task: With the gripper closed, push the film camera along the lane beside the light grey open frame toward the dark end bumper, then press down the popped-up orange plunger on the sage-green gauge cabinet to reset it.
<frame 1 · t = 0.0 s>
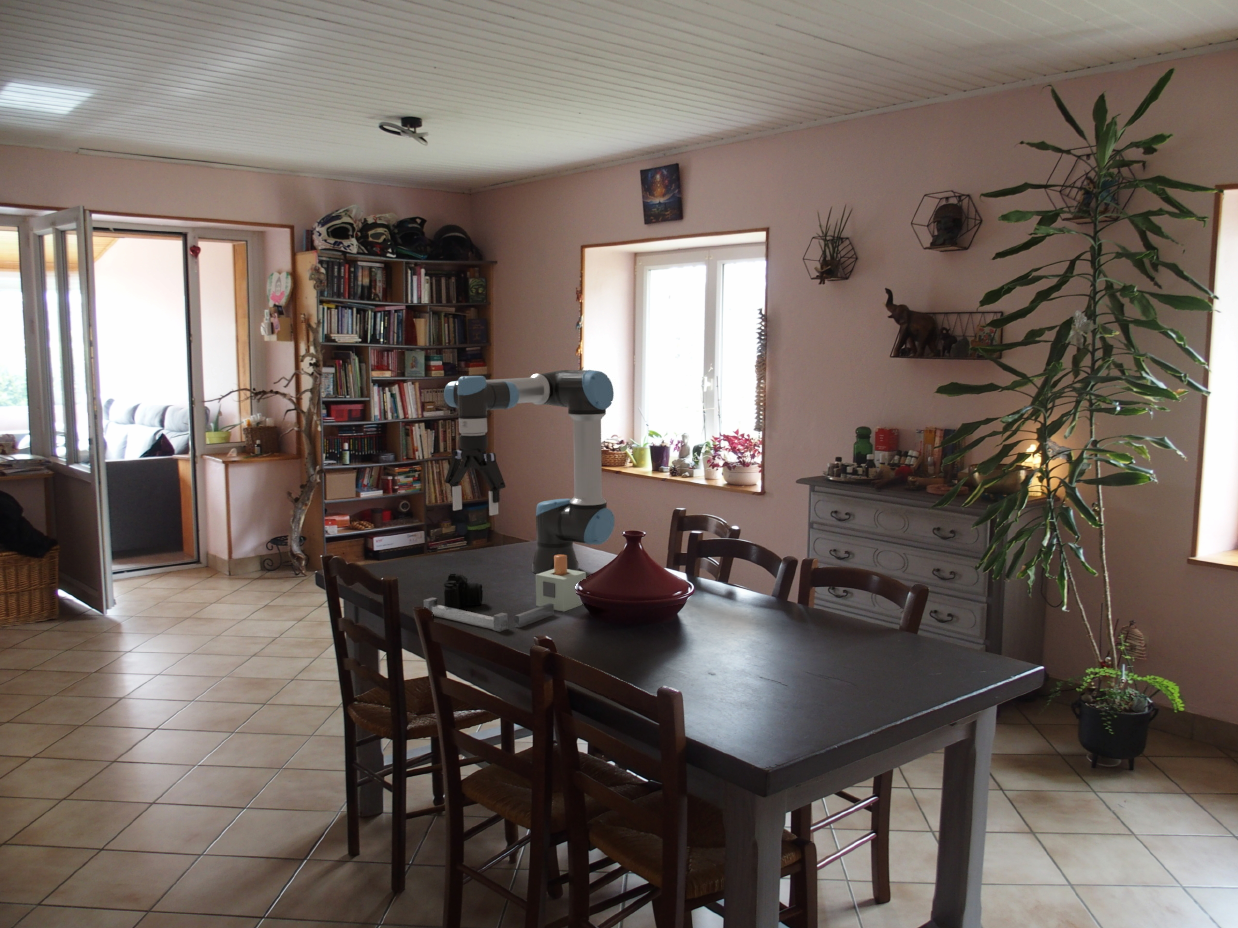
hand: (475, 512, 256), 28 cm above the table, fingers open, 13 cm apart
gauge button: (560, 566, 265), point 11 cm above the table, slide at 0.0 cm
gauge cabinet: (561, 604, 267), on the table
light grey open frame: (464, 621, 251), on the table
film camera: (464, 606, 267), on the table
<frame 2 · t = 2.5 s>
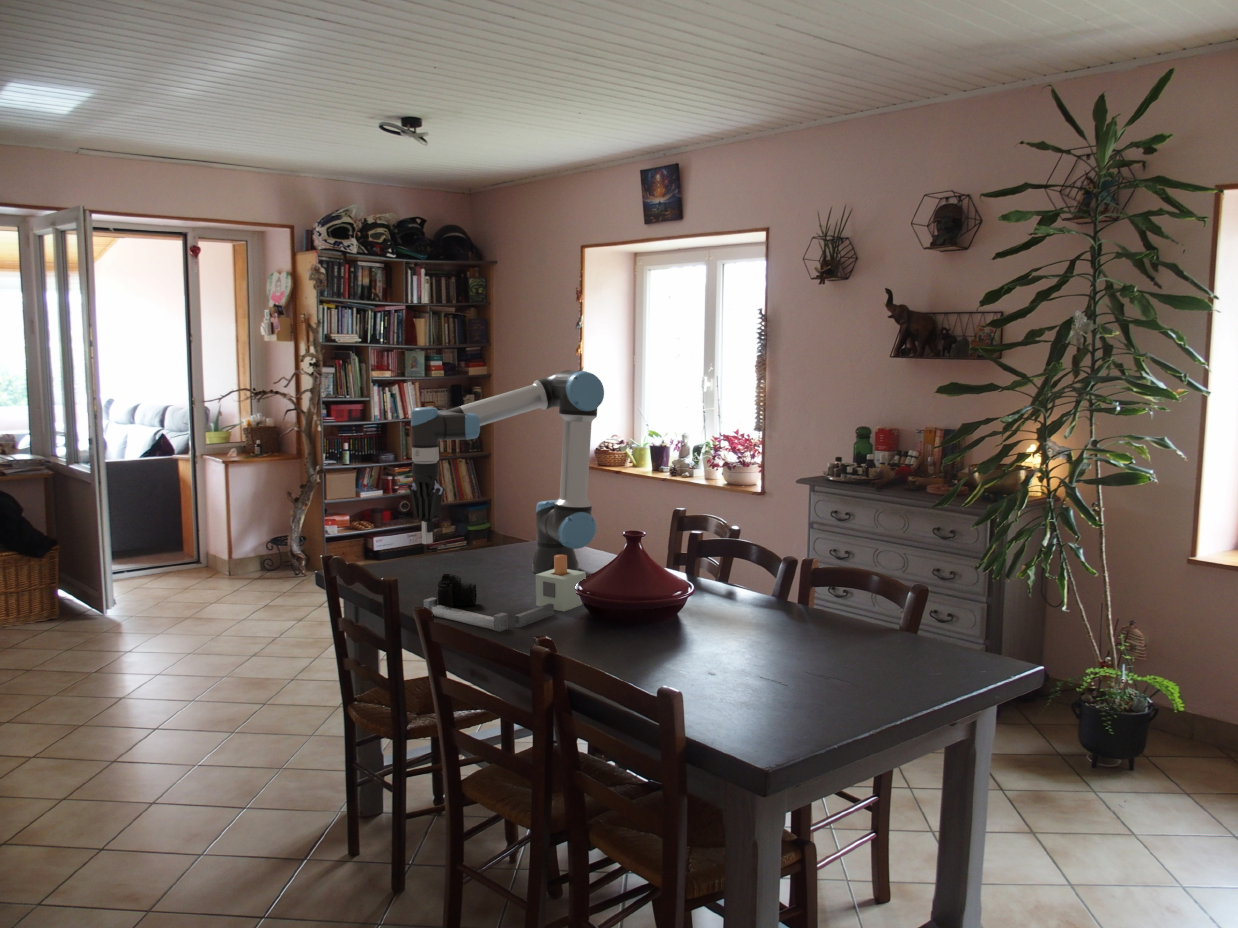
hand: (427, 542, 273), 16 cm above the table, fingers closed
film camera: (457, 606, 267), on the table
everything else where it was.
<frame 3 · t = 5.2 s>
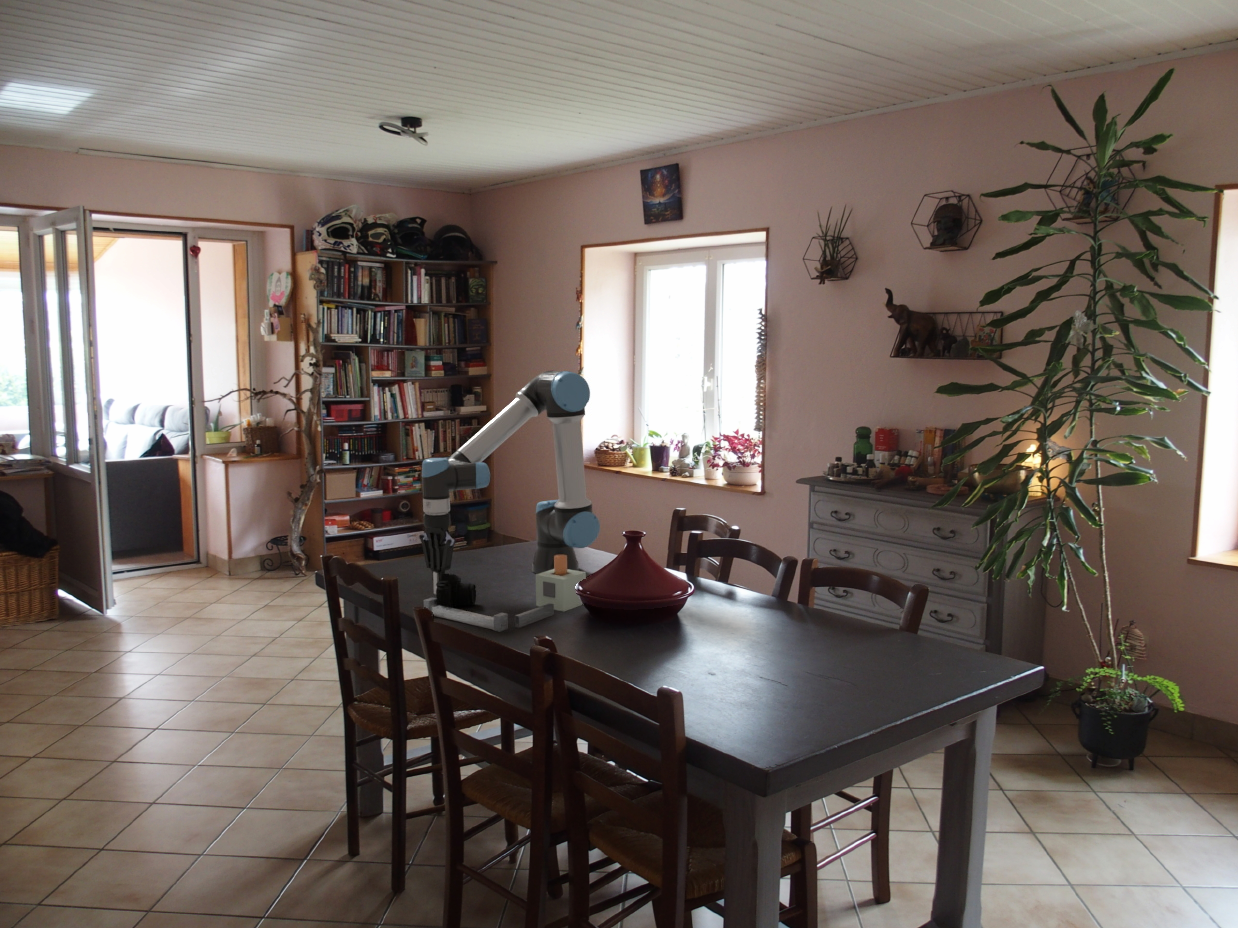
hand: (439, 593, 272), 2 cm above the table, fingers closed
film camera: (457, 606, 266), on the table, touching gripper
everything else where it was.
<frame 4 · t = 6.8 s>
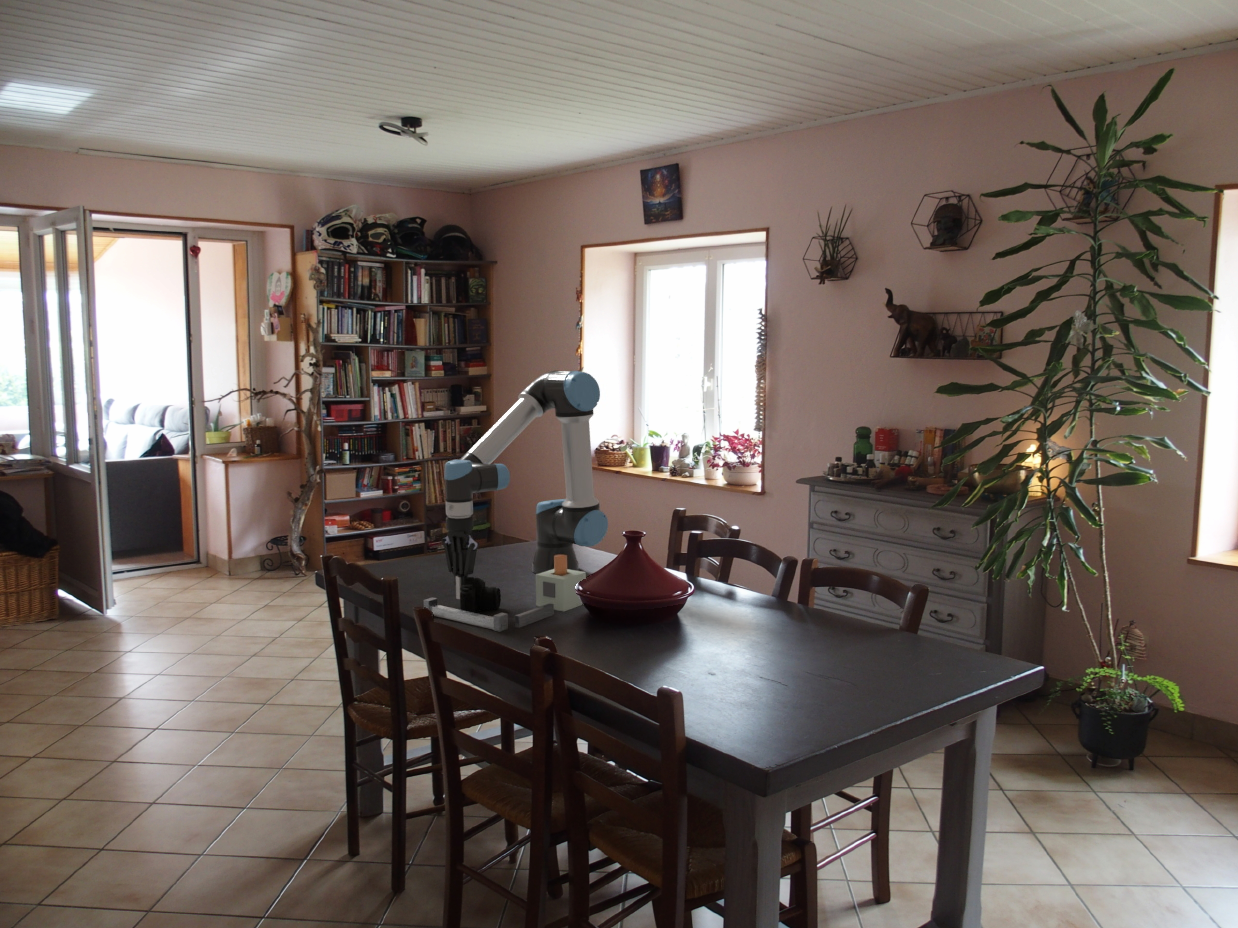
hand: (461, 597, 267), 2 cm above the table, fingers closed
film camera: (481, 610, 262), on the table, touching gripper
everything else where it was.
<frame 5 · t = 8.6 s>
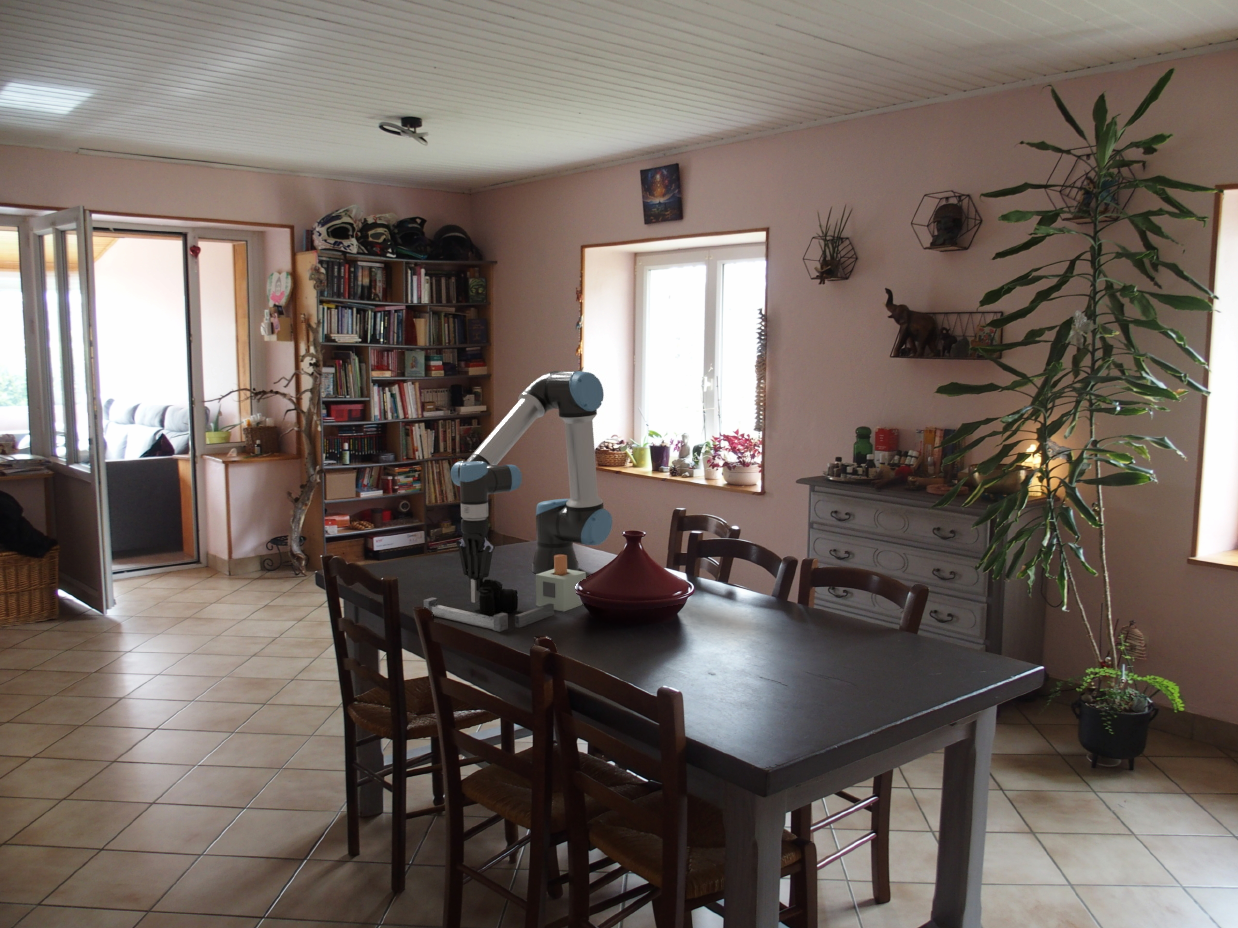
hand: (476, 601, 264), 2 cm above the table, fingers closed
film camera: (499, 613, 259), on the table, touching gripper
everything else where it was.
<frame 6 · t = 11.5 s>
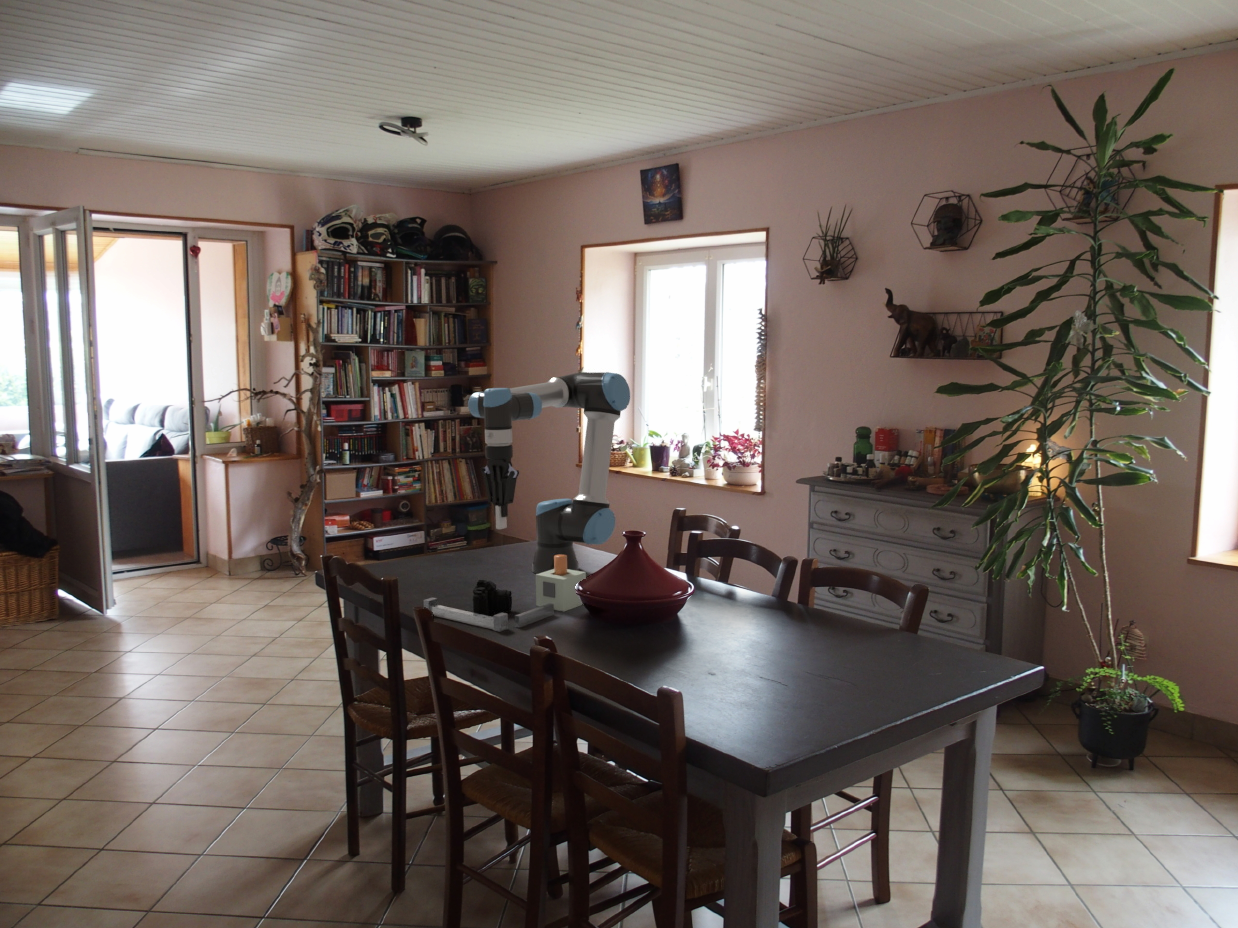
hand: (501, 528, 264), 22 cm above the table, fingers closed
film camera: (492, 613, 259), on the table
everything else where it was.
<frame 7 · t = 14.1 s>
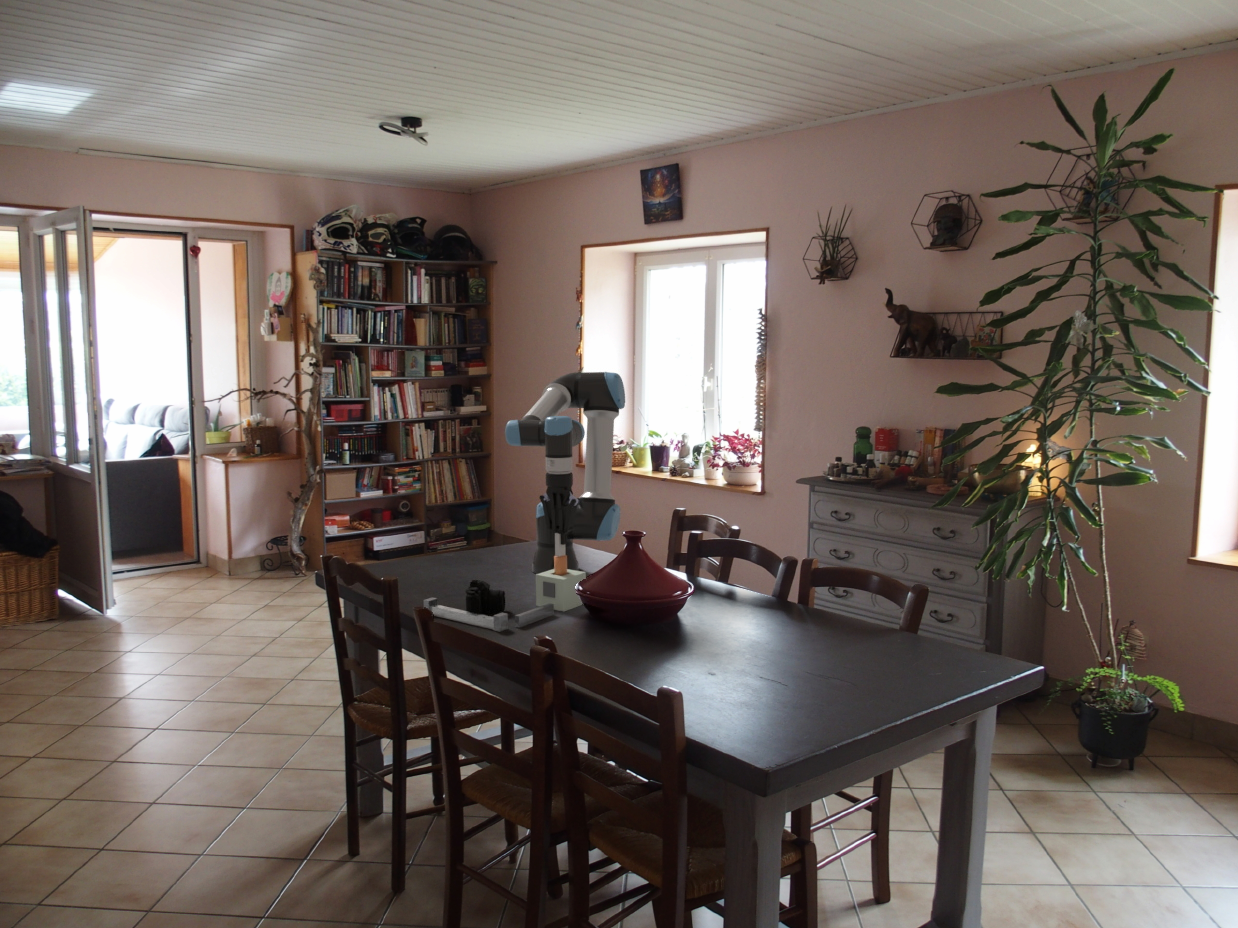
hand: (560, 555, 265), 14 cm above the table, fingers closed
gauge button: (560, 566, 265), point 11 cm above the table, slide at 0.1 cm, touching gripper
film camera: (486, 613, 259), on the table
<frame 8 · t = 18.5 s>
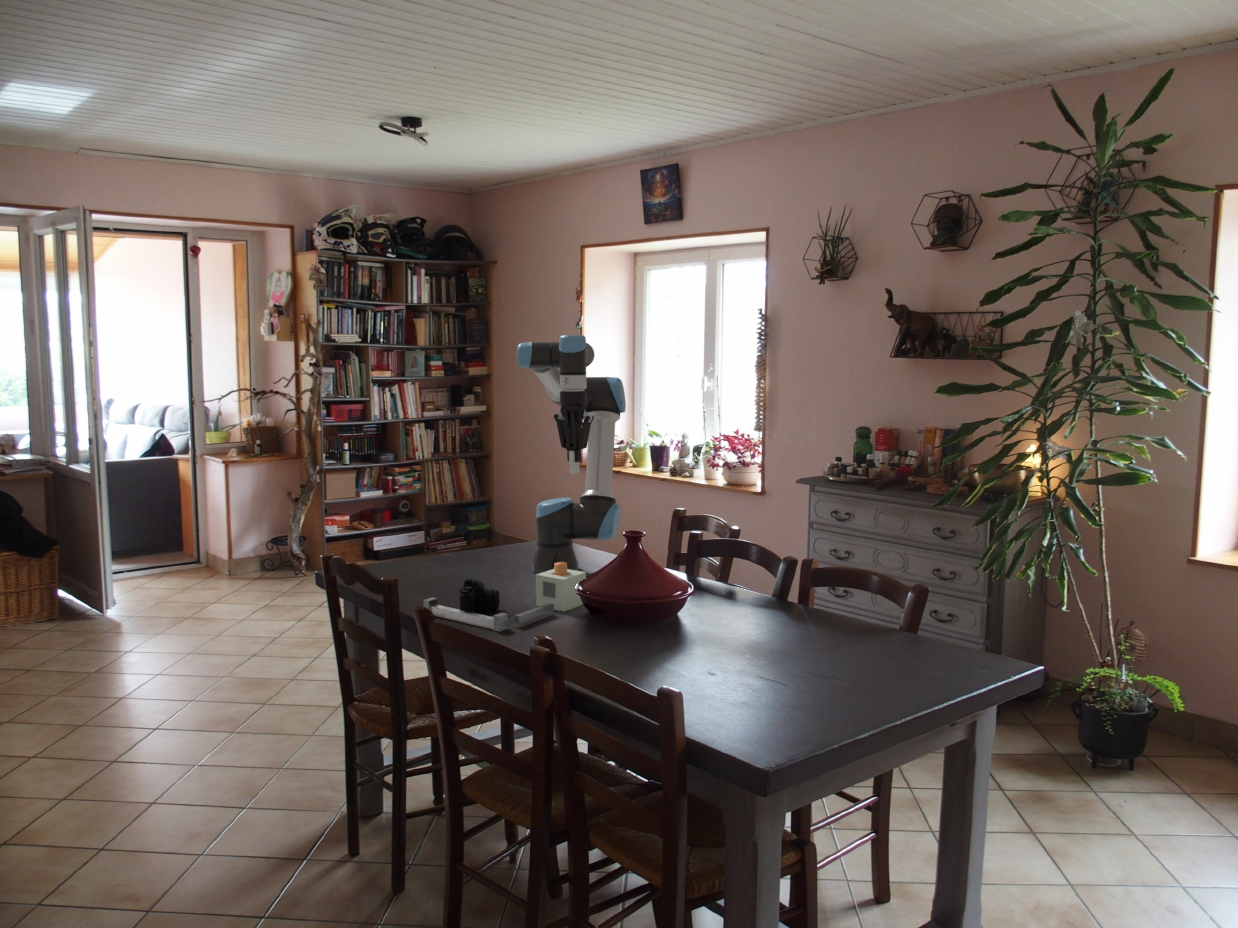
hand: (574, 473, 269), 36 cm above the table, fingers closed
gauge button: (560, 573, 266), point 9 cm above the table, slide at 2.2 cm
film camera: (480, 613, 260), on the table, touching light grey open frame
at the end: film camera inside the target area (8.7 cm from its centre), on the table; film camera moved 8.4 cm from its start; gauge button slide at 2.2 cm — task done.
